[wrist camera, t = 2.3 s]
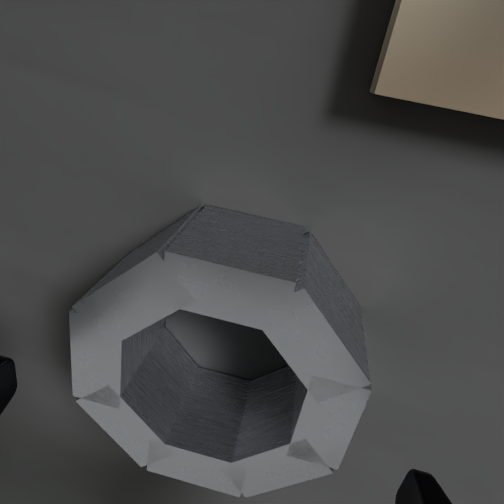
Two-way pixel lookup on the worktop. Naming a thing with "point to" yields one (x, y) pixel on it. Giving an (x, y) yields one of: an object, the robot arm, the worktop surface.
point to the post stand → (445, 55)
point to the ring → (214, 383)
